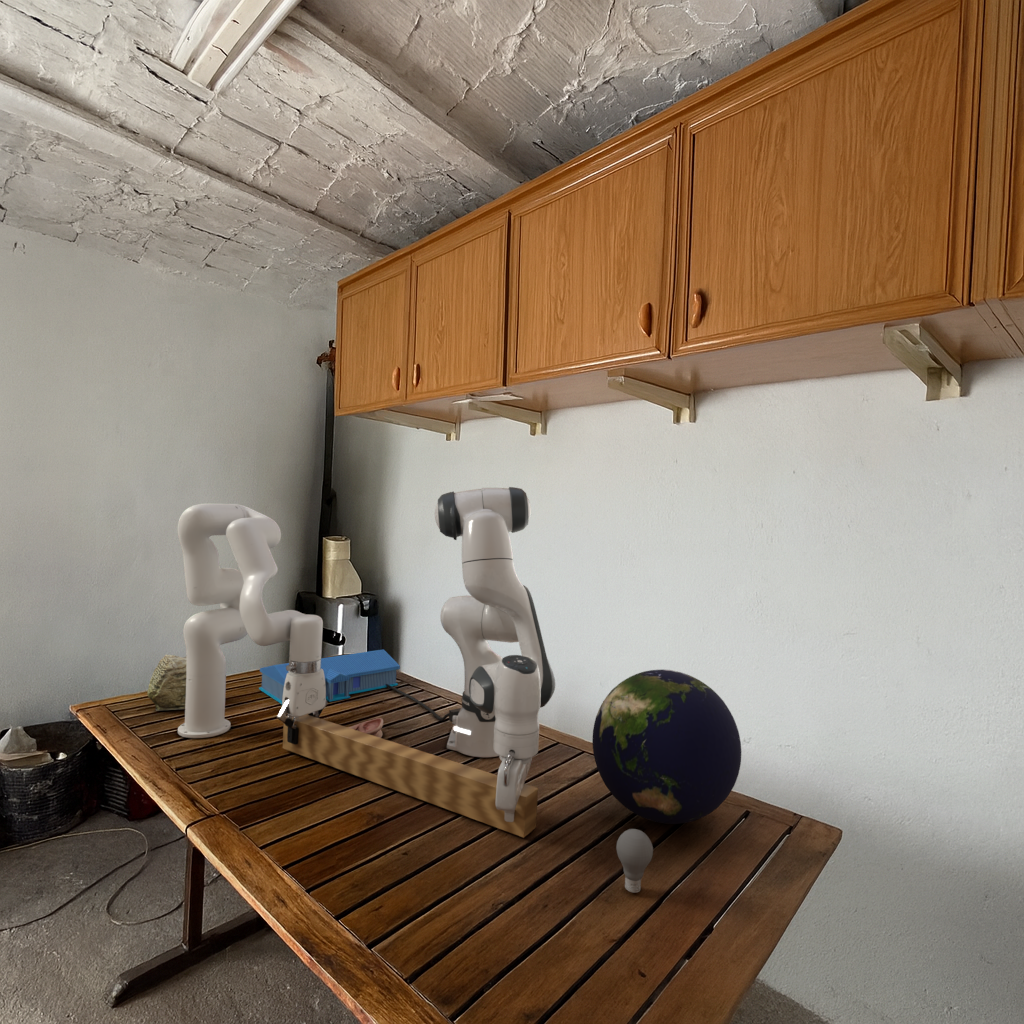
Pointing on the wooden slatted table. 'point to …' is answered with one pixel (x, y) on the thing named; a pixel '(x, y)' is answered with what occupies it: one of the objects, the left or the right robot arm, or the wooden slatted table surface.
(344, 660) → the model building
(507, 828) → the bar
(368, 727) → the anatomical model
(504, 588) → the right robot arm
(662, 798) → the globe
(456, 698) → the wooden slatted table surface
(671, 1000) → the wooden slatted table surface
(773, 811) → the wooden slatted table surface
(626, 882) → the light bulb
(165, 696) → the fossil
